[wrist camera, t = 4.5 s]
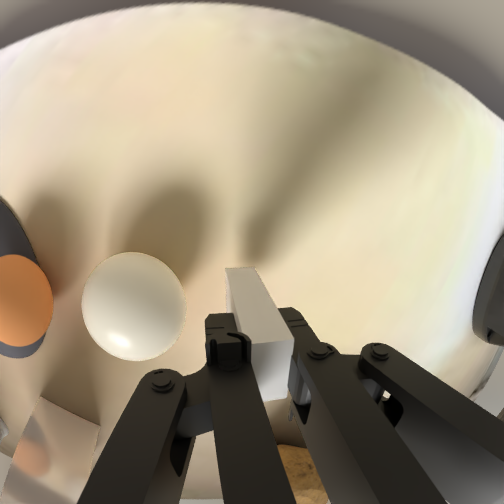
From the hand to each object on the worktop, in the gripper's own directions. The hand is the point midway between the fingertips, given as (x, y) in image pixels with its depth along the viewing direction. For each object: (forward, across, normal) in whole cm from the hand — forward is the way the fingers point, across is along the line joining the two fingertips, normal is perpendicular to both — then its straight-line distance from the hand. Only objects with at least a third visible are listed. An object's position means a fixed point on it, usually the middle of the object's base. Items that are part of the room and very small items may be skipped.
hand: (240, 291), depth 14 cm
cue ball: (-1, +6, 0) cm, 6 cm away
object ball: (-1, +14, 0) cm, 14 cm away
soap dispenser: (+2, +18, +17) cm, 25 cm away
